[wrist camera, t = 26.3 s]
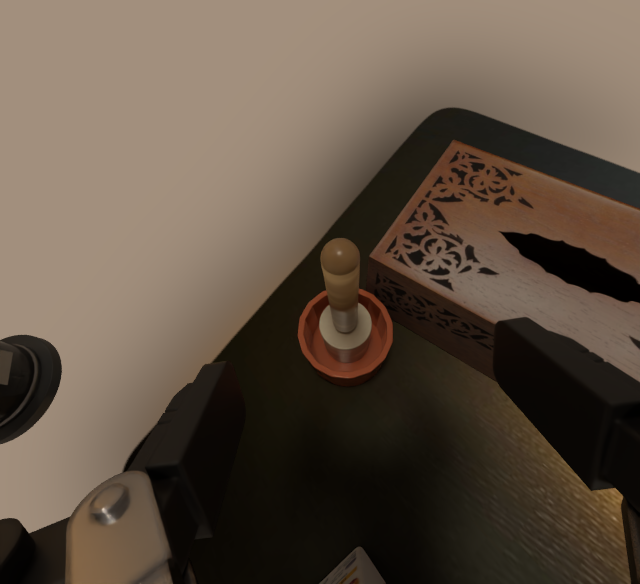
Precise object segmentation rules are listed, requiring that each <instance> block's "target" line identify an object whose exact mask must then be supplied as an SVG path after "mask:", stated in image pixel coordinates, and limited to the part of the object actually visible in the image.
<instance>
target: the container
mask: <svg viewBox="0 0 640 584" xmlns="http://www.w3.org/2000/svg"><path fill="white" fill-rule="evenodd" d="M319 584H386V583H385V581H384V580H383V578H382V577H381V575H380V574H379V572H378V571H377V569H376V568H375V566H374V564H373V563H372V561H371V560H370V558H369V557H368V555H367V554H366V552H365V551H364V549H363V548H362V547H357V548H355V549H354V550H353V551H352V552H351V553H350V554H349V555H348V556H347V557H346V558H345V559H344V560H343V561H342V562H341V563H340V564H339V565H338V566H337V567H336V568H335V569H334V570H333V571H332V572H331V573H330V574H329V575H328V576H327V577H326V578H325V579H324V580H323V581H321V582H320V583H319Z"/></svg>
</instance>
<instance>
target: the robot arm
mask: <svg viewBox="0 0 640 584" xmlns="http://www.w3.org/2000/svg"><path fill="white" fill-rule="evenodd" d="M493 372H494V376H495V378H496V381H497V383H498V384H499V386H500V387H501V388H502V389H503V391H504V392H505V393H506V394H507V395H508V396H509V397H510V399H511V400H512V401H513V402H514V403H515V404H516V405H517V407H518V408H519V409H520V410H521V411H522V412H523V413H524V415H525V416H526V417H527V418H528V419H529V420H530V421H531V423H532V424H533V425H534V426H535V427H536V428H537V429H538V431H539V432H540V433H541V434H542V435H543V436H544V437H545V439H546V440H547V441H548V442H549V443H550V444H551V445H552V447H553V448H554V449H555V450H556V451H557V452H558V453H559V455H560V456H561V457H562V458H563V459H564V460H565V461H566V463H567V464H568V465H569V466H570V467H571V468H572V469H573V471H574V472H575V473H576V474H577V475H578V476H579V477H580V479H581V480H582V481H583V482H584V483H585V484H586V485H587V487H588V488H589V489H590V490H591V491H593V490H601V489H608V488H616V489H617V490H618V491H619V492H620V493H621V494H622V495H623V500H622V504H621V511H622V519H623V526H624V533H625V541H626V548H627V555H628V563H629V570H630V577H631V584H640V382H639V381H637V380H636V379H634V378H633V377H631V376H630V375H628V374H626V373H625V372H623V371H622V370H620V369H619V368H617V367H616V366H614V365H612V364H611V363H609V362H605V361H604V359H603V358H601V357H600V356H598V355H597V354H595V353H594V352H590V351H589V349H587V348H586V347H584V346H583V345H581V344H579V343H578V342H576V341H575V340H573V339H572V338H569V337H566V336H563V335H561V334H558V333H555V332H553V331H548V330H546V329H545V328H543V327H542V326H540V325H539V324H537V323H536V322H534V321H533V320H531V319H530V318H528V317H521V318H514V319H507V320H501V321H498V322H497V323H496V324H495V328H494V346H493ZM40 378H41V363H40V359H39V357H38V355H37V354H36V353H35V352H34V351H33V350H32V349H30V348H29V347H26V346H22V345H18V344H10V343H6V342H2V341H0V428H2V427H4V426H6V425H7V424H9V423H10V422H12V421H13V420H14V419H16V418H17V417H18V416H19V415H20V414H21V413H22V412H23V411H24V410H25V408H26V407H27V406H28V405H29V403H30V402H31V400H32V399H33V397H34V395H35V393H36V391H37V389H38V386H39V383H40ZM245 416H246V410H245V402H244V398H243V395H242V392H241V389H240V386H239V382H238V379H237V376H236V373H235V370H234V367H233V364H232V363H231V362H230V361H224V362H218V363H211V364H205V365H204V366H203V367H202V368H201V370H200V372H199V373H198V375H197V377H196V379H195V380H194V382H193V383H189V384H187V385H186V386H185V387H184V388H183V389H182V390H180V391H179V392H178V393H177V394H176V395H175V396H174V397H173V399H172V400H171V402H170V403H169V405H168V407H167V408H166V410H165V413H163V415H162V416H161V418H160V419H159V421H158V425H156V426H155V427H154V429H153V430H152V432H151V434H150V435H149V437H148V438H147V440H146V442H145V443H144V445H143V446H142V448H141V449H140V451H139V453H138V454H137V456H136V457H135V459H134V461H133V462H132V464H131V465H130V467H129V469H128V470H127V472H124V473H120V474H118V475H116V476H114V477H112V478H110V479H108V480H106V481H105V482H103V483H101V484H100V485H99V486H97V487H96V488H95V489H94V490H92V491H91V492H90V493H89V494H88V495H87V496H86V497H85V498H84V499H83V500H82V501H81V502H80V504H79V505H78V506H77V507H76V509H75V510H74V512H73V514H72V515H71V516H70V517H68V518H66V519H63V520H61V521H58V522H56V523H54V524H51V525H49V526H46V527H44V528H41V529H39V530H37V531H34V532H32V533H28V532H27V531H26V529H25V528H24V527H23V525H22V524H21V523H20V521H19V520H17V519H14V518H7V519H2V520H0V584H199V583H198V580H197V577H196V574H195V571H194V568H193V565H192V562H191V560H190V558H189V555H190V551H191V548H192V545H193V542H194V539H201V538H209V537H213V534H214V531H215V527H216V523H217V520H218V516H219V513H220V509H221V506H222V502H223V498H224V495H225V491H226V488H227V484H228V480H229V477H230V473H231V470H232V466H233V462H234V459H235V455H236V452H237V448H238V445H239V441H240V437H241V434H242V430H243V427H244V423H245Z"/></svg>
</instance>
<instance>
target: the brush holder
mask: <svg viewBox="0 0 640 584" xmlns="http://www.w3.org/2000/svg"><path fill="white" fill-rule="evenodd" d="M358 303H360V304H361V305H363V306H364V307H365V308H366V309H367V311H368V312H369V314H370V317H371V321H372V329H371V334H370V340H369V345H368V349H367V351H366V353H365V355H364V356H363V357H362V358H361V359H359V360H358V361H355V362H352V363H342V362H339V361H336V360H335V359H333V358H332V357H331V356H330V355H329V353H328V352H327V349H326V347H325V344H324V341H323V338H322V335H321V332H320V328H319V321H320V317H321V314H322V313H323V311H324V310H325V308H326V307H327V306H328V305H329V300H328V295H327V290H326V291H323V292H321V293H320V294H319V295H317V296H316V297H315V298H314V299H312V300H311V301H310V302H309V303H308V304H307V306H306V308H305V310H304V311H303V313H302V315H301V317H300V321H299V328H298V339H299V342H300V346H301V349H302V352H303V354H304V356H305V357H306V359H307V360H308V361H309V363H310V364H311V366H312V367H313V368H314V369H315V371H316V372H317V373H318V374H319V376H320V377H322V378H323V379H325V380H326V381H328V382H330V383H332V384H335V385H339V386H356V385H359V384H362V383H364V382H366V381H368V380H370V379H371V378H372V377H373V376H374V375H375V374H376V373H377V372H378V371H379V370H380V369H381V367H382V364H383V362H384V360H385V358H386V356H387V354H388V351H389V349H390V347H391V345H392V342H393V324H392V320H391V318H390V316H389V313H388V311H387V309H386V307H385V306H384V305H383V304H382V303H381V302H380V301H379V300H378V299H377V298H376V297H375V296H374V295H373V294H371V293H369V292H367V291H364V290H362V289H360V288H359V294H358Z"/></svg>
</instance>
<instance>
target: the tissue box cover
mask: <svg viewBox="0 0 640 584" xmlns="http://www.w3.org/2000/svg"><path fill="white" fill-rule="evenodd" d="M366 291H367V292H369V293H371V294H373V295H374V296H375V297H376V298H377V299H378V300H379V301H380V302H381V303H382V304H383V305H384V306H385V307H386V309H387V311H388V313H389V316H390V318H391V319H393V320H394V321H396V322H398V323H399V324H401V325H403V326H404V327H406V328H408V329H409V330H411V331H413V332H414V333H416V334H418V335H419V336H421V337H423V338H424V339H426V340H428V341H429V342H431V343H433V344H434V345H436V346H438V347H440V348H441V349H443V350H445V351H446V352H448V353H450V354H451V355H453V356H455V357H456V358H458V359H460V360H461V361H463V362H465V363H466V364H468V365H470V366H471V367H473V368H475V369H476V370H478V371H480V372H481V373H483V374H485V375H486V376H488V377H490V378H491V379H493V380H495V381H496V378H495V376H494V372H493V346H494V328H495V324H496V323H497V322H498V321H501V320H507V319H514V318H521V317H528V318H530V319H531V320H533V321H534V322H536V323H537V324H539V325H540V326H542V327H543V328H545V329H546V330H548V331H553V332H555V333H558V334H561V335H563V336H566V337H569V338H572V339H573V340H575V341H576V342H578V343H579V344H581V345H583V346H584V347H586V348H587V349H589V351H590V352H594V353H595V354H597V355H598V356H600V357H601V358H603V359H604V361H605V362H609V363H611V364H612V365H614V366H616V367H617V368H619V369H620V370H622V371H623V372H625V373H626V374H628V375H630V376H631V377H633V378H634V379H636V380H637V381H639V382H640V209H639V208H636V207H633V206H631V205H628V204H625V203H623V202H620V201H617V200H615V199H612V198H609V197H606V196H604V195H601V194H598V193H596V192H593V191H590V190H588V189H585V188H582V187H580V186H577V185H574V184H571V183H569V182H566V181H563V180H561V179H558V178H555V177H553V176H550V175H547V174H544V173H542V172H539V171H536V170H534V169H531V168H528V167H526V166H523V165H520V164H517V163H515V162H512V161H509V160H507V159H504V158H501V157H499V156H496V155H493V154H490V153H488V152H485V151H482V150H480V149H477V148H474V147H472V146H469V145H466V144H463V143H461V142H458V141H455V140H453V141H452V143H451V144H450V145H449V147H448V148H447V150H446V151H445V152H444V154H443V155H442V156H441V158H440V159H439V161H438V162H437V163H436V165H435V166H434V168H433V169H432V170H431V172H430V173H429V174H428V176H427V177H426V179H425V180H424V181H423V183H422V184H421V185H420V187H419V188H418V190H417V191H416V192H415V194H414V195H413V197H412V198H411V199H410V201H409V202H408V203H407V205H406V206H405V208H404V209H403V210H402V212H401V213H400V214H399V216H398V217H397V219H396V220H395V221H394V223H393V224H392V226H391V227H390V228H389V230H388V231H387V232H386V234H385V235H384V237H383V238H382V239H381V241H380V242H379V243H378V245H377V246H376V248H375V249H374V250H373V252H372V253H371V255H370V256H369V263H368V274H367V285H366ZM496 382H497V381H496Z"/></svg>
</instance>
